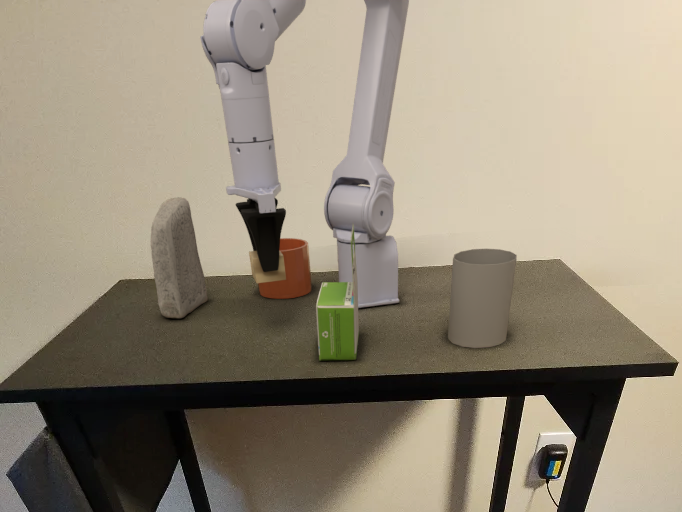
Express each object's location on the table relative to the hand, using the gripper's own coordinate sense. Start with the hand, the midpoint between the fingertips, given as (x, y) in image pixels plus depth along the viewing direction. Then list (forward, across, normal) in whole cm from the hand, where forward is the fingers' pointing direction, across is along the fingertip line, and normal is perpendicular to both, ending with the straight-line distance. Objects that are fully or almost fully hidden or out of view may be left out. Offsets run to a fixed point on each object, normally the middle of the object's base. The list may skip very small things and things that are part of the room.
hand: (267, 266), depth 83 cm
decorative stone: (+9, -17, -13) cm, 23 cm away
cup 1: (+9, -21, +5) cm, 24 cm away
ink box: (+9, +10, +8) cm, 15 cm away
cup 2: (+9, +13, +27) cm, 31 cm away
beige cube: (+1, 0, 0) cm, 1 cm away
